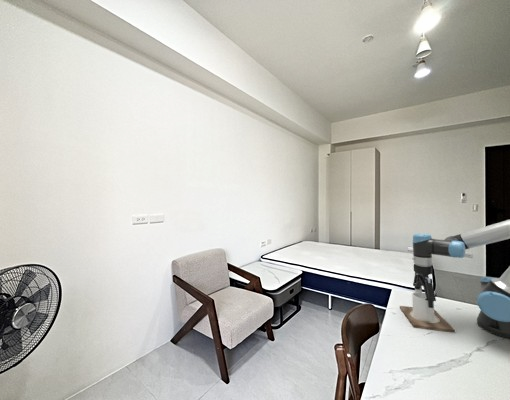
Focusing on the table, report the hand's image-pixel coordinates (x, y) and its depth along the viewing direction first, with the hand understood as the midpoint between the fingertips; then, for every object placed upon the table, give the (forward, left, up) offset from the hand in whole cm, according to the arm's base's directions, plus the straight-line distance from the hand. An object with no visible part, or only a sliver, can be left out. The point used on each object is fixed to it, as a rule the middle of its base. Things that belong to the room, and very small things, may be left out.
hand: (424, 307), depth 111 cm
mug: (0, 0, -5) cm, 5 cm away
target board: (0, 0, -6) cm, 6 cm away
